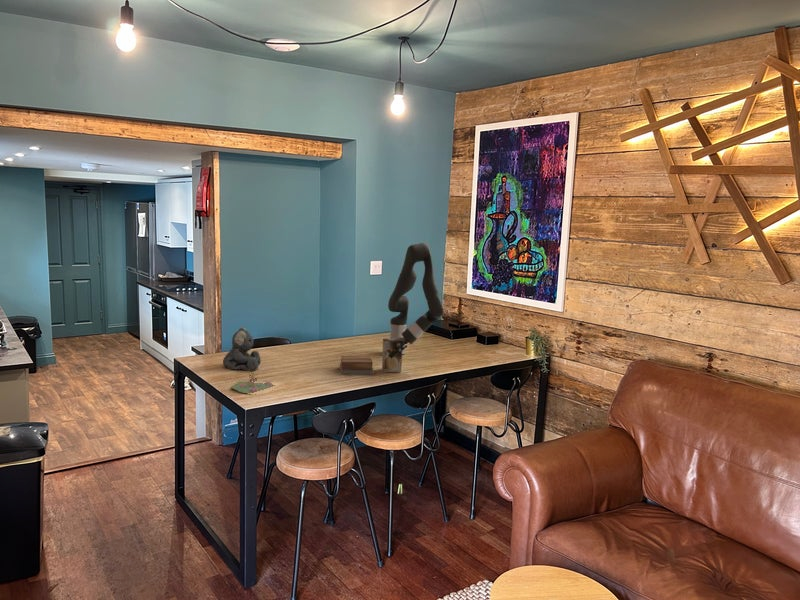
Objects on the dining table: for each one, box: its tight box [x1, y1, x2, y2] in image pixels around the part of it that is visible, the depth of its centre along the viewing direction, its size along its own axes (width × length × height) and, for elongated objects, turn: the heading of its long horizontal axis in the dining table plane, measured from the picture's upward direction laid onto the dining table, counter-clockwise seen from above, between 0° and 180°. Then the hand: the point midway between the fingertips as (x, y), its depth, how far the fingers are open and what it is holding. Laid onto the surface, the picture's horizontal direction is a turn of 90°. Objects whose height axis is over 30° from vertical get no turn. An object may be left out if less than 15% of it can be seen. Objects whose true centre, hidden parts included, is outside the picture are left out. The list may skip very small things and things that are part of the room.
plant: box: [230, 370, 275, 394], centre depth 266 cm, size 25×21×9 cm
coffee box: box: [381, 338, 403, 373], centre depth 304 cm, size 9×6×16 cm
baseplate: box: [339, 362, 374, 376], centre depth 301 cm, size 14×16×2 cm
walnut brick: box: [340, 355, 374, 370], centre depth 301 cm, size 12×15×4 cm
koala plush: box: [222, 326, 262, 371], centre depth 297 cm, size 17×18×20 cm
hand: (389, 355), depth 304 cm, fingers closed on coffee box, 6 cm apart
